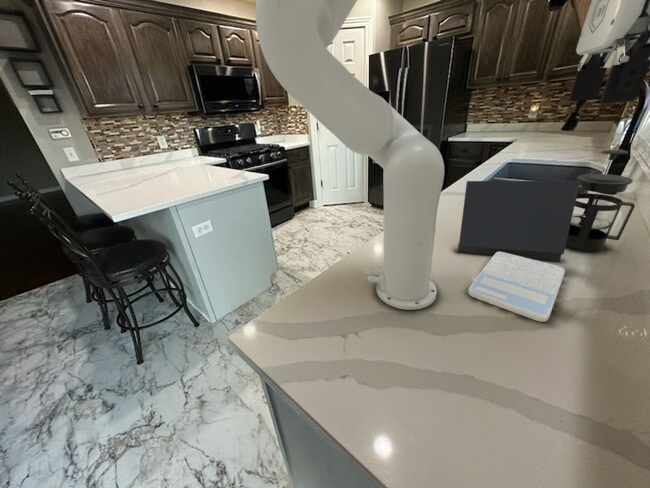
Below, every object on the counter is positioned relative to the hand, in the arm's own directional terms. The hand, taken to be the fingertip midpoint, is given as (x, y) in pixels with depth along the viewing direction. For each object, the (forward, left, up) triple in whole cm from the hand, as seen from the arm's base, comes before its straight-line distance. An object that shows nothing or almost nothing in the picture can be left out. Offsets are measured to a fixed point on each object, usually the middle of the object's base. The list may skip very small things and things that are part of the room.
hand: (598, 100), depth 36 cm
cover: (-2, +17, -24) cm, 30 cm away
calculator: (-2, +3, -35) cm, 35 cm away
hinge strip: (-2, +15, -35) cm, 38 cm away
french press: (+16, +25, -35) cm, 46 cm away
